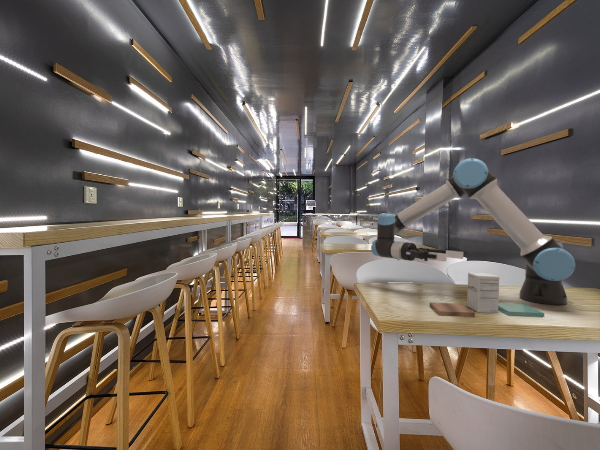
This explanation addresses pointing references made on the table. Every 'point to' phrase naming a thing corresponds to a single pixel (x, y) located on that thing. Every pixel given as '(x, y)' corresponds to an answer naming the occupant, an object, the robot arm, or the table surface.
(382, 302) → the table surface
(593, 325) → the table surface
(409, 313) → the table surface
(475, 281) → the supplement box
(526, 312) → the plate
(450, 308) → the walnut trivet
